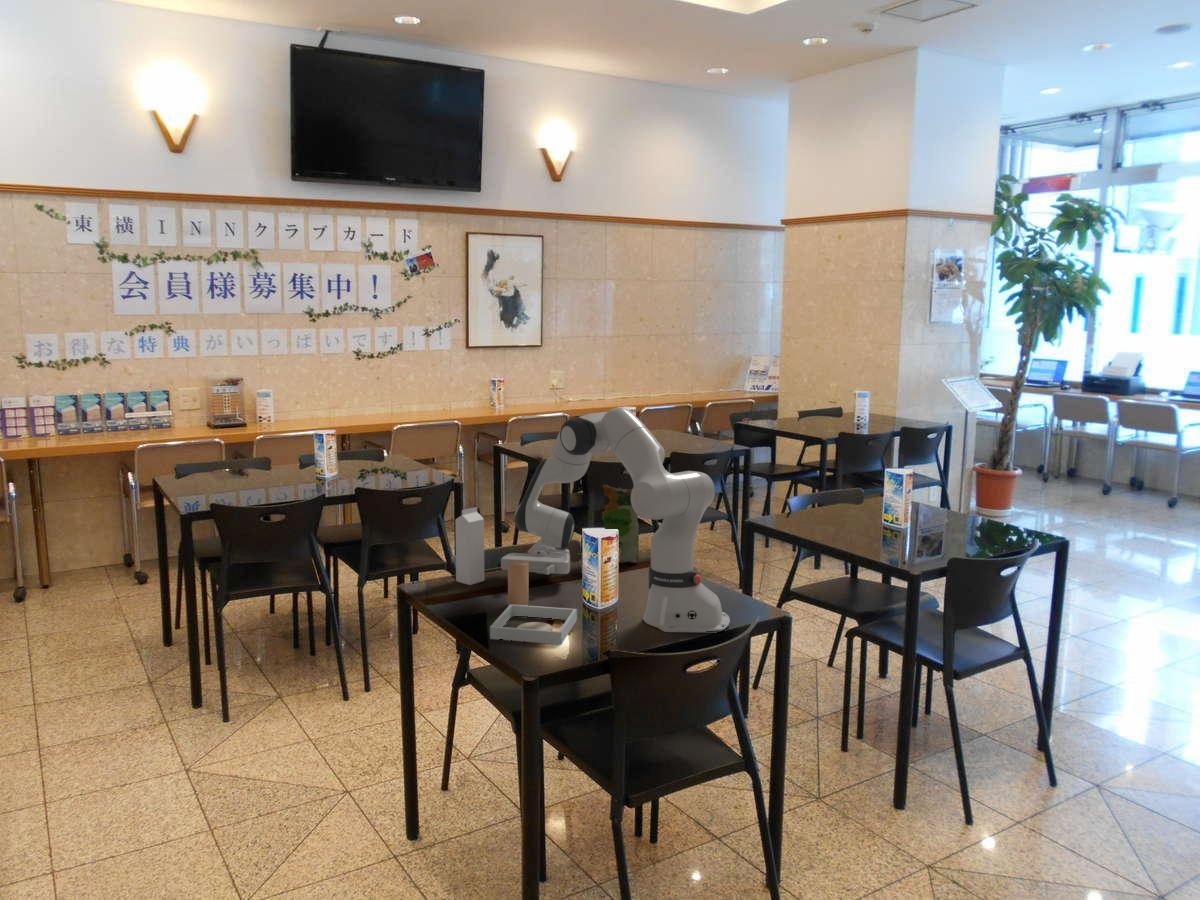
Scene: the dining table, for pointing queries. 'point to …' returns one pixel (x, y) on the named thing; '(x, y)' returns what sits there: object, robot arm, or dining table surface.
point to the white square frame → (532, 634)
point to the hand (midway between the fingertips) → (529, 570)
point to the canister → (518, 582)
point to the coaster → (536, 626)
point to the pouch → (622, 521)
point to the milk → (469, 547)
